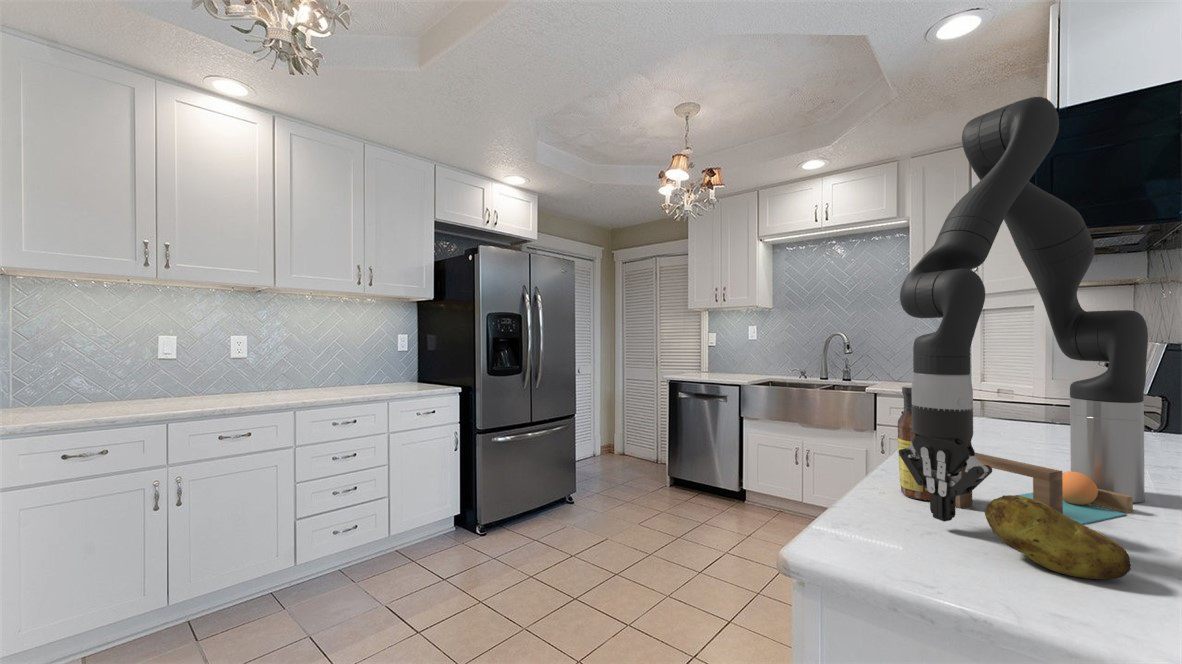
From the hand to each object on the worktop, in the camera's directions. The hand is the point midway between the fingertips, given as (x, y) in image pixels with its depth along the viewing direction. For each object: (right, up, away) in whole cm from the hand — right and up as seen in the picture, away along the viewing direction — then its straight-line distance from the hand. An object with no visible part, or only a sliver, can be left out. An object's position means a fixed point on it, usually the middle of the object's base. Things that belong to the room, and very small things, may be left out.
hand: (942, 519), depth 74 cm
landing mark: (+25, -1, +9) cm, 27 cm away
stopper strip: (+33, -1, +12) cm, 35 cm away
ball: (+30, +1, +10) cm, 32 cm away
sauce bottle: (+6, -2, +15) cm, 16 cm away
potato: (+5, -2, -12) cm, 13 cm away
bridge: (+12, -1, +4) cm, 13 cm away
